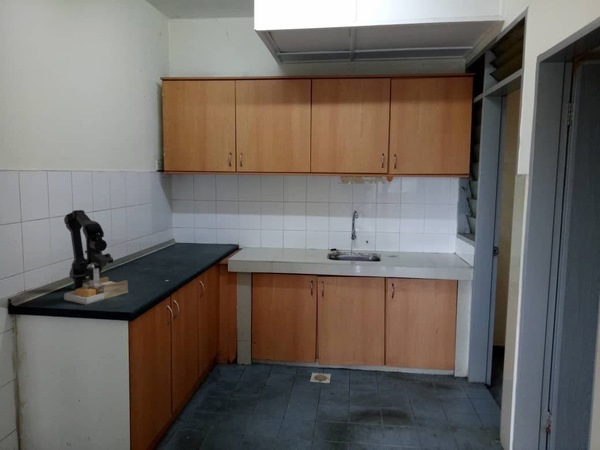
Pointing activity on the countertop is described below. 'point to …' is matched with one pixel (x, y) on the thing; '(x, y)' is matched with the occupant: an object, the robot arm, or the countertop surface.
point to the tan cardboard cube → (89, 293)
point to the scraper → (95, 281)
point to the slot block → (111, 287)
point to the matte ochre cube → (80, 291)
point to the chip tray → (82, 298)
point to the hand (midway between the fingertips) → (94, 279)
